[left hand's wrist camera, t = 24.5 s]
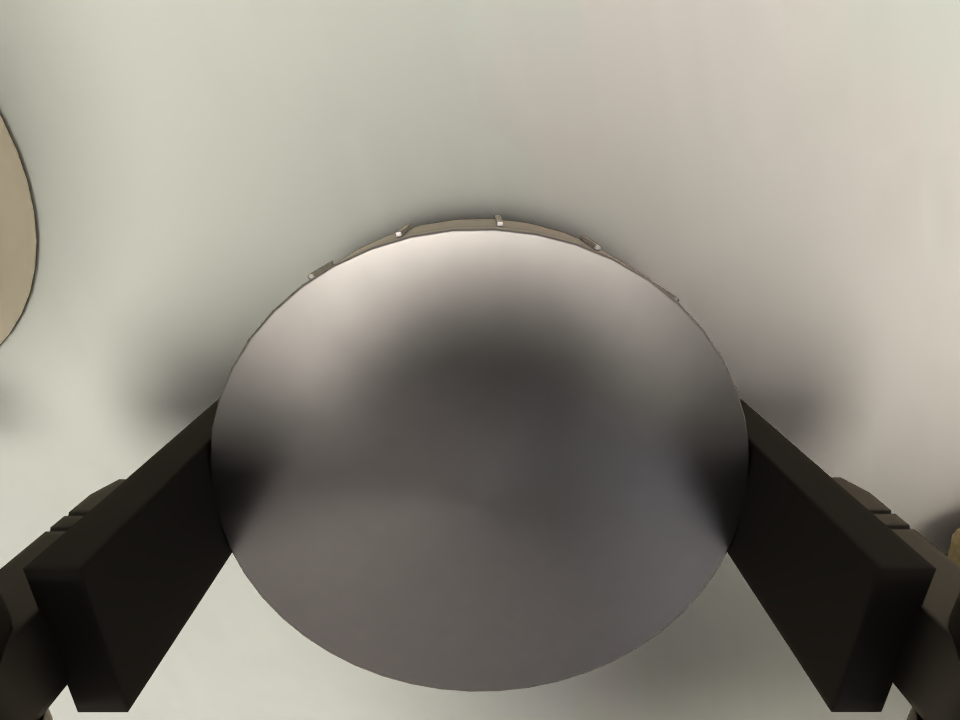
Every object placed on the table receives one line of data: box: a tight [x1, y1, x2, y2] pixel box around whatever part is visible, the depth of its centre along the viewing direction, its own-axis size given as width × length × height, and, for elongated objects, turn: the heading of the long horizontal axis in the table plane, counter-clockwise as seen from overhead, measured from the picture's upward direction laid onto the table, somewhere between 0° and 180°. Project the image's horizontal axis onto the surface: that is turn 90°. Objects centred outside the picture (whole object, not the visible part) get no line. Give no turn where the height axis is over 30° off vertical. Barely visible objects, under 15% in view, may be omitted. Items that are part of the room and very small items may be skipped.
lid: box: [210, 215, 749, 691], centre depth 11 cm, size 11×11×2 cm
